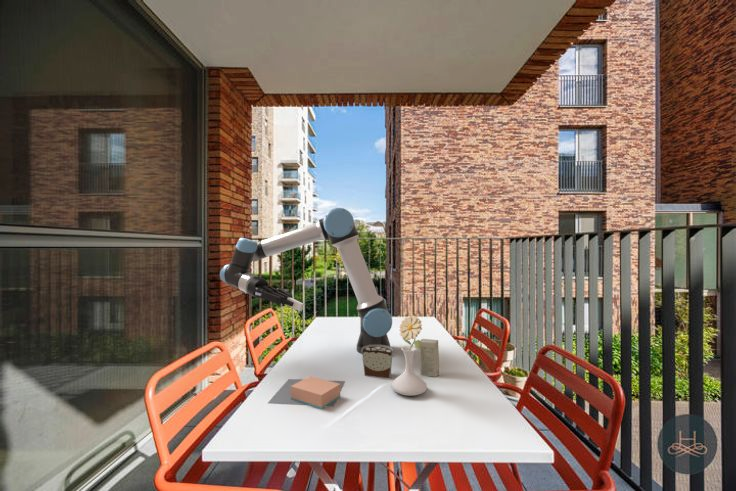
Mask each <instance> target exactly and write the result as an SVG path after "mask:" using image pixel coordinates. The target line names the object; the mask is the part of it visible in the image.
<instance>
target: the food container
mask: <svg viewBox="0 0 736 491" xmlns="http://www.w3.org/2000/svg"><path fill="white" fill-rule="evenodd" d="M360 354H362V361H363V362H362V363H363V371H364V377H370V378H380V379H388V380H391V375H392V374H391V372H392V365H393V363H392V362H393V358H394V357H395V353H394V349H393V348H392V347H391V346H390V347H389V346H386V345H368V346H364V347H363V348H362V349H361V353H360Z"/></svg>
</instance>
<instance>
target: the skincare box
mask: <svg viewBox="0 0 736 491" xmlns="http://www.w3.org/2000/svg"><path fill="white" fill-rule="evenodd" d="M419 340H420V342H421V344H422V346H423V348H418V349H419V375H420V376H426V377H435V378H437V377H438V376H439V374H440V358H439V357H440V355H439V354H440V353H439V340H438V339H430V338H429V339H428V338H422V339H419Z"/></svg>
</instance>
